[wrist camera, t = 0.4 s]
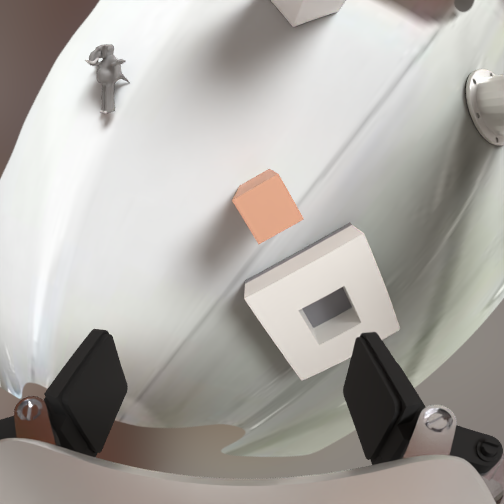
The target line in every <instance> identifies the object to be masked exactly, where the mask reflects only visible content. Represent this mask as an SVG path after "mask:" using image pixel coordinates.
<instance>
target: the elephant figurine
mask: <svg viewBox="0 0 504 504" xmlns="http://www.w3.org/2000/svg"><path fill="white" fill-rule="evenodd" d="M113 52H114V46H113V45H108V44H106V45H100V46H98V47H96V49H95V50H94V51H93V52H92V53H91V54H90V56H89V60H88V61H87V60H85V61H86V62H87V63H89V64H90V65H92V66H99V65H100V68H99V69H98V71H97V81H98V82H99V83H102V110H101V111H100V113H103V112H104V114H106V113H110V112H113V111H115V105H114V96H113V94H114V83H115V82H116V81H117V80H119V79H123V80H125V81H127V82H129V81H128V80H127V79H126V78H125V77H124V75H123V74H122V72H121V65H120V64H122V63H124V62H125V60H123V59H120V60H118V59H116V57H115V56H114V55H113ZM99 58H103V60H102V61H100V62H98V59H99ZM129 83H130V82H129Z"/></svg>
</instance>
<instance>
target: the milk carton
mask: <svg viewBox="0 0 504 504" xmlns="http://www.w3.org/2000/svg"><path fill="white" fill-rule="evenodd" d="M271 1H272V3H273V4H274V5H275V6H276V7H277V8H278V10H279V11H280V12H281V13H282V14H283V16H284V17H285V18H286V19H287V20H288V22H289V23H290V24H291V25H292V26H293V27H295V26H298V25H300V24H303V23H306V22H309V21H311V20H314V19H317V18H320V17H323V16H326V15H329V14H332V13H335V12H338V11H339V10H340V9H341V7H342V5H343V4H344V2H345V1H346V0H271Z"/></svg>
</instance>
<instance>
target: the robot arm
mask: <svg viewBox="0 0 504 504" xmlns="http://www.w3.org/2000/svg"><path fill="white" fill-rule="evenodd" d="M466 98H467V104H468V108H469V112H470V115H471V117H472V120H473V122H474V124H475V126H476V128H477V129H478V131H479V133H480V134H481V135H482V136H483V137H484V138H485V139H486V140H487V141H488V142H490V143H491V144H494V145H501V146H502V145H504V74H502V75H495V74H494V73H493V72H491V71H489V70H487V69H478V70H475V71H473V72H472V73H471V74H470V76H469V77H468V80H467V84H466ZM126 393H127V382H126V379H125V376H124V373H123V370H122V367H121V364H120V361H119V357H118V354H117V350H116V347H115V343H114V340H113V337H112V335H111V334H109V332H108V331H106V330H99V329H93V330H92V331H91V332H90V333H89V335H88V336H87V337H86V339H85V340H84V341H83V342H82V344H81V345H80V346H79V348H78V349H77V350H76V351H75V353H74V354H73V355H72V357H71V358H70V359H69V361H68V362H67V363H66V365H65V366H64V367H63V369H62V370H61V371H60V373H59V374H58V375H57V377H56V378H55V380H54V381H53V382H52V384H51V385H50V387H49V388H48V389H47V391H46V393H45V396H46V397H45V399H44V400H43V399H42V398H40V397H38V396H28V397H25V398H23V399H22V400H20V401H19V402H18V403H17V404H16V406H15V408H14V416H12V417H9V418H5V419H2V420H0V504H504V454H503V449H502V445H501V443H500V442H499V441H498V440H497V439H496V438H494V437H492V436H490V435H486V434H482V433H479V432H476V431H473V430H469V429H466V428H463V427H460V426H457V425H456V417H455V415H454V413H453V412H452V411H451V410H450V409H448V408H447V407H444V406H442V405H430V406H428V407H425V405H424V404H423V402H422V400H421V399H420V397H419V396H418V394H417V392H416V391H415V389H414V388H413V386H412V384H411V383H410V381H409V380H408V378H407V376H406V375H405V373H404V372H403V370H402V369H401V367H400V366H399V364H398V363H397V362H396V361H395V359H394V358H393V356H392V355H391V353H390V352H389V350H388V349H387V347H386V346H385V344H384V343H383V341H382V340H381V338H380V337H379V335H378V334H377V333H376V332H368V333H361V335H360V337H357V338H356V340H355V344H354V348H353V353H352V357H351V361H350V365H349V369H348V373H347V376H346V380H345V384H344V388H343V393H344V397H345V400H346V403H347V406H348V408H349V411H350V414H351V417H352V419H353V422H354V425H355V428H356V431H357V433H358V436H359V439H360V442H361V445H362V448H363V451H364V454H365V457H366V458H367V459H368V460H369V459H371V462H372V465H371V466H366V467H361V468H356V469H350V470H344V471H338V472H332V473H326V474H318V475H309V476H299V477H287V478H266V479H228V478H210V477H197V476H187V475H179V474H171V473H164V472H158V471H152V470H146V469H141V468H136V467H131V466H127V465H122V464H118V463H114V462H110V461H106V460H103V459H99V458H96V455H97V453H100V452H101V451H102V449H103V446H104V444H105V442H106V439H107V436H108V434H109V432H110V430H111V427H112V425H113V422H114V420H115V418H116V415H117V413H118V411H119V409H120V406H121V404H122V402H123V400H124V397H125V395H126Z"/></svg>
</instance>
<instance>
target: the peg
mask: <svg viewBox="0 0 504 504" xmlns="http://www.w3.org/2000/svg"><path fill="white" fill-rule="evenodd" d="M232 201H233V203H234V204H235V206H236V208H237V209H238V211H239V213H240V214H241V216H242V218H243V219H244V221H245V222H246V224H247V226H248V227H249V229H250V231H251V232H252V234H253V236H254V237H255V239H256V240H257V242H258V244H260V243H262V242H264V241H266V240H267V239H269V238H271V237H273V236H275V235H276V234H278V233H280V232H282V231H284V230H285V229H287V228H289V227H291V226H292V225H294V224H296V223H298V222H300V221H301V220H303V217H302V215H301V213H300V211H299V210H298V208H297V206H296V204H295V202H294V201H293V199H292V197H291V195H290V194H289V192H288V190H287V188H286V187H285V185H284V183H283V181H282V180H281V178H280V176H279V174H278V173H276V172H274V171H272V170H270V169H268V170H266V171H265V172H263V173H261V174H259V175H258V176H256V177H254V178H252V179H251V180H249V181H247V182H246V183H244V184H242V185H240V186H239V188H238V190H237V192H236V194H235V196H234V198H233V200H232Z"/></svg>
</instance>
